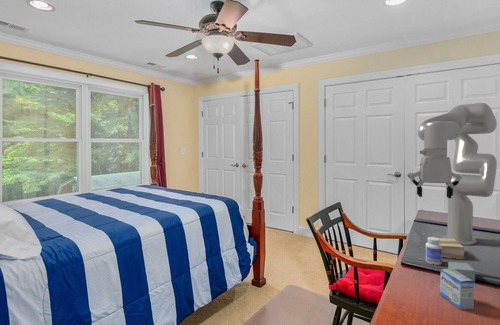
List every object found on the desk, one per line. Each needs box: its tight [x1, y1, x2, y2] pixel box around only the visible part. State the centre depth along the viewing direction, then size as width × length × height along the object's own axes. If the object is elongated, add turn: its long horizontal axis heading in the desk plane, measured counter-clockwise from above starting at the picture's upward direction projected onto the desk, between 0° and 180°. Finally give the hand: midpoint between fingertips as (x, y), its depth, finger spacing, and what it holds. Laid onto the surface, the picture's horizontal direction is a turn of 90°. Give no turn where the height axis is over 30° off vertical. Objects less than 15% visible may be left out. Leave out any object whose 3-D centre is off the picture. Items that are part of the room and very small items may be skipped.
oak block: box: [437, 237, 465, 260], centre depth 119 cm, size 10×10×5 cm
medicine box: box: [439, 268, 475, 311], centre depth 85 cm, size 8×4×9 cm, turn 5°
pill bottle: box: [425, 236, 443, 266], centre depth 111 cm, size 5×5×10 cm
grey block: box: [447, 261, 476, 282], centre depth 100 cm, size 6×6×4 cm
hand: (434, 197), depth 110 cm, fingers open, 9 cm apart
